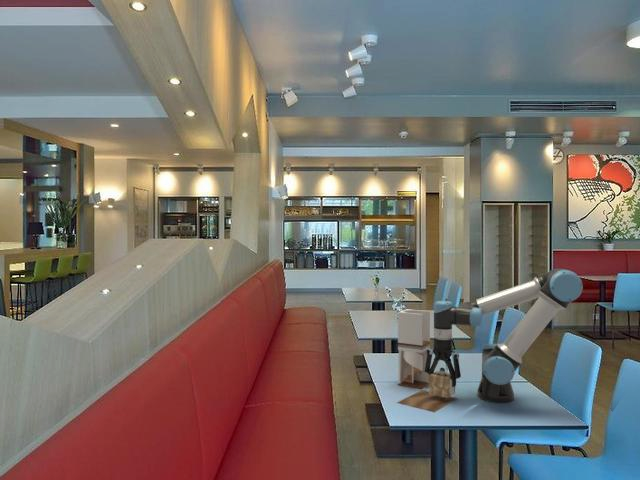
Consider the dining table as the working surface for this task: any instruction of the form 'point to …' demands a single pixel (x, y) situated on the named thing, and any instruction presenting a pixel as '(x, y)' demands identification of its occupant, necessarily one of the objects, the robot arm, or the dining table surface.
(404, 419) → the dining table surface
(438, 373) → the tan wooden cube
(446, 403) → the board
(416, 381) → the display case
